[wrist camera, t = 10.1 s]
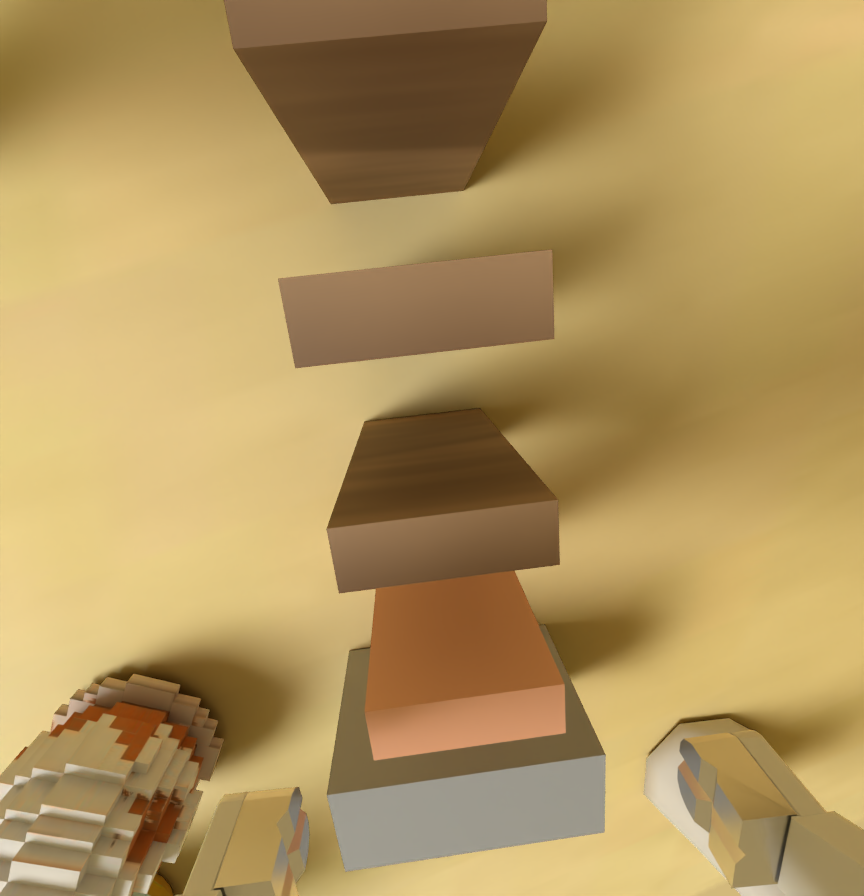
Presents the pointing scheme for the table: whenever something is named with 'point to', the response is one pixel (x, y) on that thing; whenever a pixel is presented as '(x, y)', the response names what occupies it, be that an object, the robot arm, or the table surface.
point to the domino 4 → (459, 668)
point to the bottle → (157, 888)
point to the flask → (668, 798)
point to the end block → (461, 787)
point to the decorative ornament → (105, 791)
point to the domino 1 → (386, 84)
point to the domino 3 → (438, 504)
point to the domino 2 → (419, 308)
